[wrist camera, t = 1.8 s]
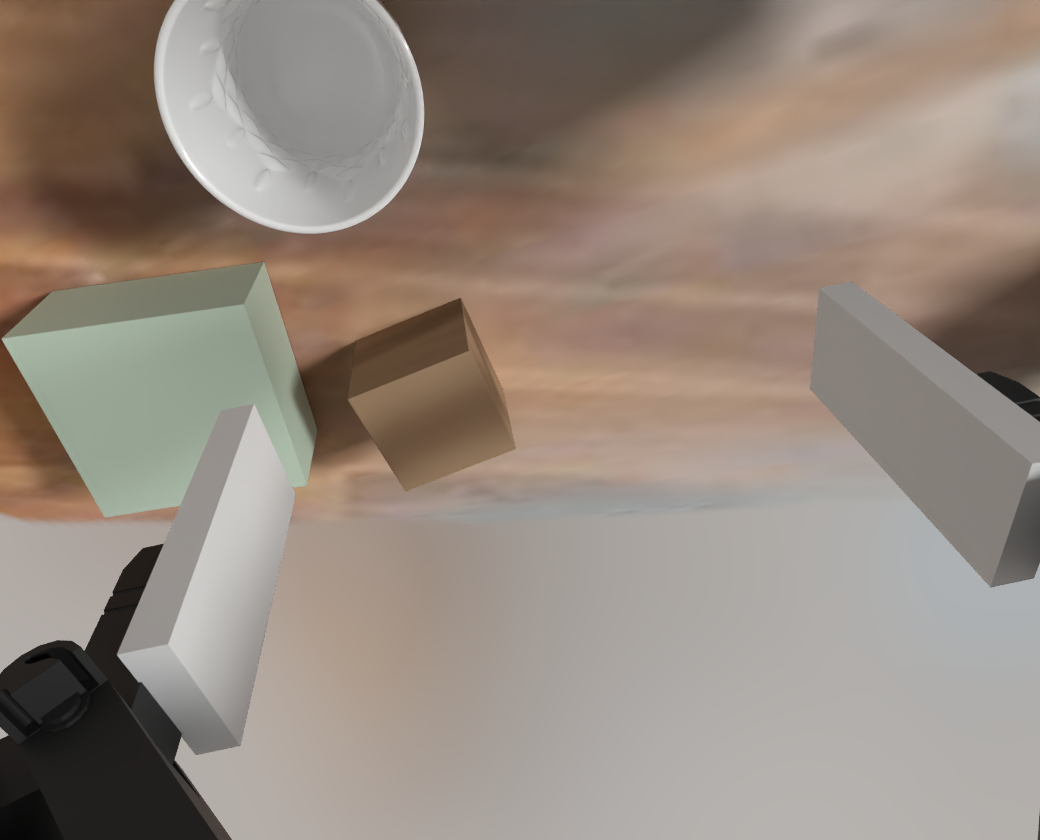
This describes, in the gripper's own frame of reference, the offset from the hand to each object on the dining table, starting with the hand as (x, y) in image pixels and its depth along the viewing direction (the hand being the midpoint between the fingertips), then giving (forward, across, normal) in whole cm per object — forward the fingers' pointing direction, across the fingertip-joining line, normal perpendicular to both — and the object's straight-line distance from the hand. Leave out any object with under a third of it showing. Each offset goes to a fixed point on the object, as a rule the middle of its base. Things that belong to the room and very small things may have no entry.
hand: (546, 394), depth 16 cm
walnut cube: (+20, -4, -10) cm, 23 cm away
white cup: (+20, -6, +6) cm, 22 cm away
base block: (+20, -16, -7) cm, 26 cm away
